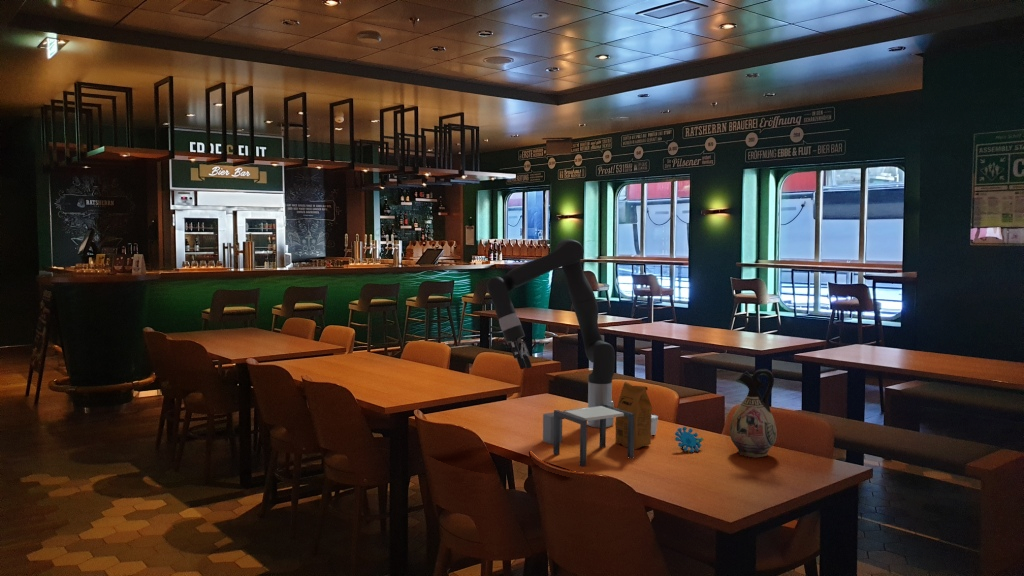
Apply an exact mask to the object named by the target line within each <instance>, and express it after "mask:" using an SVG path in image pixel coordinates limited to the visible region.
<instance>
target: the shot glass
mask: <svg viewBox="0 0 1024 576" xmlns="http://www.w3.org/2000/svg"><path fill="white" fill-rule="evenodd" d="M658 419H659V415H656V414H652V413H651V435H655V434H656V435H657V429H658ZM656 435H655V436H656Z"/></svg>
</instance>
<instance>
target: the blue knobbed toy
mask: <svg viewBox="0 0 1024 576" xmlns="http://www.w3.org/2000/svg"><path fill="white" fill-rule="evenodd" d="M687 429H688V428H687V427H686V426H683V427H678V428H677V431H676V432H674V435H675V438H674V439H675V441H676V442H678V443H677V444H678V446H679V448H681V447H683V448H682V449H683V451H685V452H687V451H688V449H689V451H690V452H689V453H691V452H693V453H694V452H695V451H697V452H699V451H700V448H701V447H702V444H701V443H702V442H703V441H704V438H703V437H698V436H699V434H698V433H697V432H694V433H693V431H694V430H693V429H692V428H689V429H688V431H687ZM682 430H683V431H682ZM697 437H698V438H697ZM693 447H694V448H693Z"/></svg>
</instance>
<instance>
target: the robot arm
mask: <svg viewBox="0 0 1024 576" xmlns="http://www.w3.org/2000/svg"><path fill="white" fill-rule="evenodd" d="M555 249H556V250H554V251H552V252H551V253H548V254H547V255H544V256H542V257H539V258H536V259H534V260H533V259H532V260H530V261H527V262H525V263H523V264H520V265H518V266H516V267H514V268H512V269H511V270H509V271H508V272H507V273H505V274H504V275H501V276H492V277H491V278H489V280H488V281H487V283H486V291H487V293H488V295H489V296H490V297H491V300H492V303H493V305H494V310H495V314H496V316H497V317H496V318H497V319H498V322H499V323H498V324H499V327H500V329H501V332H502V334H503V338H504V340H505V342H506V343H507V344H509V347H510V349H511V352H512V356H513V358H514V359H515V360H516V361H517V364H518V366H519V368H520V370H524V369H526V370H528V369H531V368H532V367H533V365H532V363H531V359H530V356H531V354H530V351H529V349H528V347H527V344H526V341H525V340H524V341H522V339H523V338H525V337H526V334H525V332H524V329H523V325H522V323H521V321H520V318H519V316H518V314H517V312H516V309H515V306H514V304H513V302H512V299H511V297H510V294H509V293H510V292H511V291H514V289H516V288H518V287H520V286H524V285H525V284H527V283H529V282H531V281H533V280H536V279H537V278H539V277H541V276H543V275H545V274H547V273H549V272H552V271H554V270H557V269H560V268H562V270H563V271H562V272H563V273H564V276H565V280H566V284H567V288H568V289H567V290H568V293H569V296H570V301H571V304H572V308H573V309H574V313H575V316H576V319H577V322H578V323H577V324H578V326H579V329H580V332H581V336H582V341H583V346H584V352H585V356H586V358H587V359H588V361H589V362H591V363H592V371H591V373H589V374H588V379H587V380H588V381H587V382H588V385H587V387H588V388H587V390H588V393H587V398H588V399H587V408H589V407H597V406H600V405H602V404H604V405H608V406H611V407H614V408H615V406H614V403H615V402H614V400H613V398H612V395H613V392H612V391H613V377H614V375H615V365H616V364H615V363H616V352H615V348H614V346H613V344H610V343H608V342H606V341H604V340H603V338H602V336H601V333H600V329H599V325H598V322H599V306H598V302H597V299H596V296H595V292H594V290H593V288H592V286H591V283H590V282H589V280H588V278H587V277H586V274H585V273H584V270H583V267H582V262H581V260H582V259H583V257H584V254H585V253H584V252H585V251H584V250H585V249H584V246H583V245H582V244H581V242H579V241H578V240H575V239H572V238H564V239H561V241H559V242H558V243H557V245H556V248H555ZM587 426H589V427H592V428H599V429H600V419H598V420H591V421H587ZM611 426H614V417H613V418H606V428H610V427H611Z"/></svg>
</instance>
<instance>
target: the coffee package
mask: <svg viewBox="0 0 1024 576" xmlns="http://www.w3.org/2000/svg"><path fill="white" fill-rule="evenodd" d="M622 385H623V386H622V388H621V392H620V395H619V399H618V403H617V405H616V406H617V407H616V408H617V409H621V410H624V411H627V412H630V413H634V414H635V415H634V450H638V449H639V448H642V447H647V446H650V445H651V444H652V441H651V438H652V436H651V414H652V411H653V407H652V406H653V405H652V403H651V400H650V398H649V396H648V392H647V391H648V386H645V385H632V384H630V383H629V382H628V381H625V382H624V383H623V384H622ZM614 423H615V424H614V425H615V440H614V441H615V444H616V443H617V444H618V445H622V447H624V446H625V447H624V448H627V447H628V418H627V417H624V416H621V417H615V422H614Z"/></svg>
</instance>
